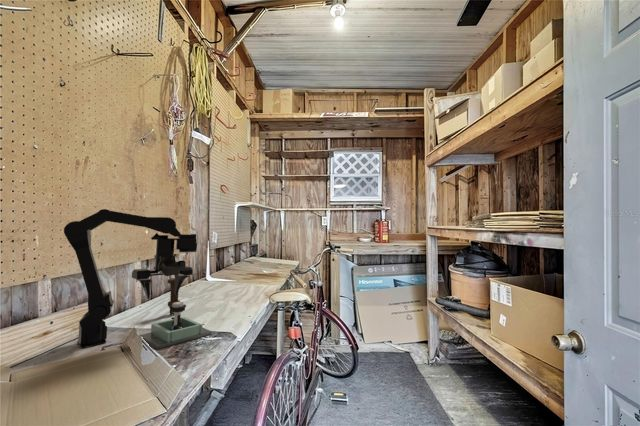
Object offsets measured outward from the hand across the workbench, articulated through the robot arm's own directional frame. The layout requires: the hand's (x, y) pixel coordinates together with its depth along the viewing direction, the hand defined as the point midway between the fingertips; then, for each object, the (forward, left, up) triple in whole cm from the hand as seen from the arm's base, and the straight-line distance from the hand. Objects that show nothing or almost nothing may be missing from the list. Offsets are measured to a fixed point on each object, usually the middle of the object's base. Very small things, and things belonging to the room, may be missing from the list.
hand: (162, 296), depth 107 cm
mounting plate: (+3, -6, -13) cm, 14 cm away
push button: (+2, -6, -12) cm, 14 cm away
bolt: (+14, +21, -13) cm, 28 cm away
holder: (+3, -6, -13) cm, 14 cm away
